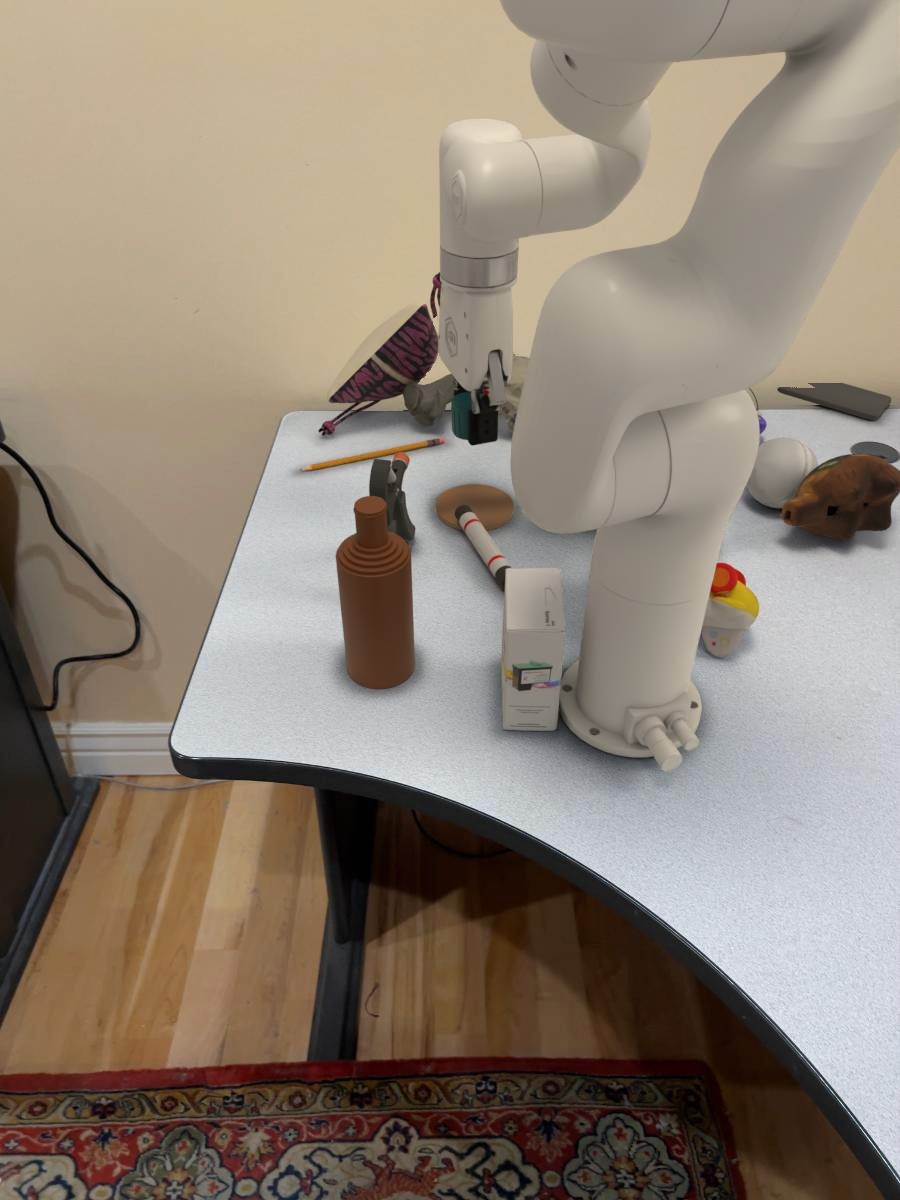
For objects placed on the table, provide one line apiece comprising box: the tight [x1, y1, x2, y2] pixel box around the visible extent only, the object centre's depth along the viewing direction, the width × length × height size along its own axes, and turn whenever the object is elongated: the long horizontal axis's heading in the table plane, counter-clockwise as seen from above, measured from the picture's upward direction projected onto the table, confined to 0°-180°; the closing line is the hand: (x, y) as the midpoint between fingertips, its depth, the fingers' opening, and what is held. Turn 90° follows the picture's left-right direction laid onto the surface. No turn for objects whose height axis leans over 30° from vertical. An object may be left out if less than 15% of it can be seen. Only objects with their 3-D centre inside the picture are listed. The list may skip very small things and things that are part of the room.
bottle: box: [335, 495, 416, 690], centre depth 81 cm, size 6×6×18 cm
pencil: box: [299, 437, 445, 471], centre depth 116 cm, size 19×1×1 cm, turn 112°
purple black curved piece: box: [318, 271, 442, 437], centre depth 123 cm, size 25×8×19 cm
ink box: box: [500, 567, 567, 732], centre depth 80 cm, size 8×5×12 cm, turn 178°
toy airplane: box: [700, 562, 760, 658], centre depth 90 cm, size 13×9×15 cm
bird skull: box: [483, 354, 530, 434], centre depth 125 cm, size 25×14×10 cm, turn 168°
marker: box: [455, 505, 512, 590], centre depth 99 cm, size 15×2×2 cm, turn 21°
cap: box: [450, 392, 483, 441], centre depth 100 cm, size 4×4×4 cm
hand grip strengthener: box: [368, 452, 417, 541], centre depth 94 cm, size 2×12×15 cm, turn 169°
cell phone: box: [776, 382, 892, 421], centre depth 128 cm, size 7×14×1 cm, turn 54°
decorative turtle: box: [781, 453, 900, 541], centre depth 100 cm, size 10×15×8 cm
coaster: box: [435, 483, 515, 532], centre depth 107 cm, size 9×9×1 cm
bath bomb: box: [745, 437, 819, 509], centre depth 106 cm, size 8×8×8 cm
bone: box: [402, 373, 459, 427], centre depth 125 cm, size 22×6×6 cm, turn 137°
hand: (475, 430), depth 101 cm, fingers closed on cap, 3 cm apart
